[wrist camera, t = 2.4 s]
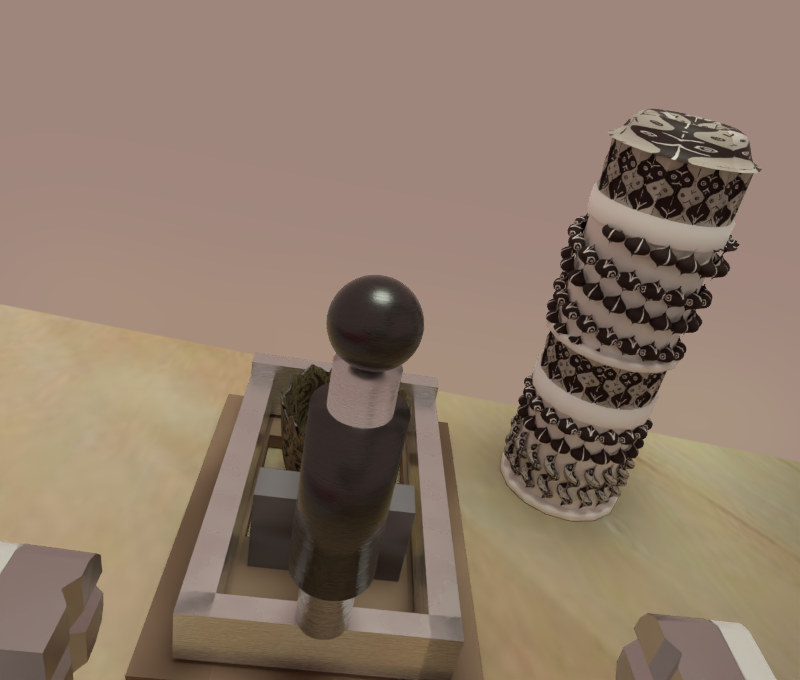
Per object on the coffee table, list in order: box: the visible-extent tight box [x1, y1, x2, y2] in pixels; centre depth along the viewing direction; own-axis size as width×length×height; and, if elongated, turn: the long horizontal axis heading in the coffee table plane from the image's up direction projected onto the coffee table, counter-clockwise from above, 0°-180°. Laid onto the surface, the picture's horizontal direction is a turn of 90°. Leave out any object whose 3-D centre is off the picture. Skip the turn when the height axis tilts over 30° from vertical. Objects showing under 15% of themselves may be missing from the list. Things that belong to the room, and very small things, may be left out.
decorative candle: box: [500, 109, 761, 521], centre depth 41 cm, size 9×9×25 cm
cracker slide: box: [172, 275, 464, 680], centre depth 33 cm, size 12×21×19 cm, turn 1°
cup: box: [280, 364, 412, 472], centre depth 39 cm, size 8×7×8 cm
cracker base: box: [125, 394, 484, 680], centre depth 37 cm, size 16×22×6 cm
